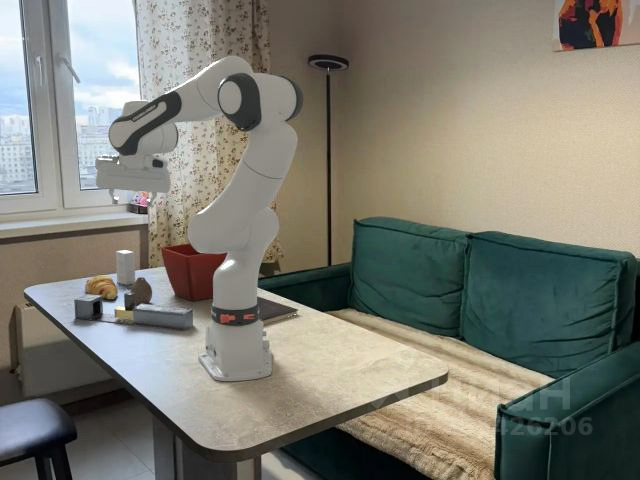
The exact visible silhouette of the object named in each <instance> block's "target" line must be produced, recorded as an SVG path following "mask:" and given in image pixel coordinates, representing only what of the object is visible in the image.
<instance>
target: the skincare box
mask: <svg viewBox="0 0 640 480" xmlns="http://www.w3.org/2000/svg"><path fill="white" fill-rule="evenodd" d="M115 259H116V260H115V261H116V263H115V264H116V282H117V283H118V284H122V285H124V286H128V285H133V284H134V283H135V282H136V265H135V264H136V263H135V259H136V258H135V252H134V251H131V250H126V249H123V250H117V251H115Z"/></svg>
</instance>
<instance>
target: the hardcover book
mask: <svg viewBox="0 0 640 480" xmlns="http://www.w3.org/2000/svg"><path fill="white" fill-rule="evenodd" d="M257 302H258V304H259V320H260V321H262V322H263V324H264V325H266V324H267V325H268V324H271V323H273V321H274V322H277V321H280V320H279V319H281V320H283V319H282V318H284V319H286V318H285V317H287V318H289V317H288V316H291V315H294V314H297V313H298V311H299V309H298V308H295V307H291V306H289V305H285V304H283V303H280V302H278V301H277V302H276V301H273V300H271V299H270V300H269V299H267V298H265V297H260V296H258V295H257ZM294 316H295V315H294ZM291 317H292V316H291ZM276 320H277V321H276ZM270 322H271V323H270Z"/></svg>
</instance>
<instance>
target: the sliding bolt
mask: <svg viewBox="0 0 640 480" xmlns="http://www.w3.org/2000/svg"><path fill="white" fill-rule="evenodd" d="M123 299H124V300H123V302H124V306H117V307H116V308H114V315H115V318H125V319H133V308H135V307H137V305H136V300H135V293H132V292H131V291H130V292H125V293H124V294H123Z"/></svg>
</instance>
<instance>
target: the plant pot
mask: <svg viewBox="0 0 640 480" xmlns="http://www.w3.org/2000/svg"><path fill="white" fill-rule="evenodd" d="M160 250H161V251H160V252H161V256H162V261H163V265H164V269H165V272H166V275H167V278H168V281H169V284H170V286H171V288H172V291H173V293H174V294H175V295H177V296H179V297H182V298H183V299H187V300H189V301H191V302H196V301H201V300H206V299H211V298H213V276H214V273H215V271H216V270H217V269H218V267H220V266H221V265H222V263H223V262H224V260H225V259H226V256H227V254H228V252H227V253H222V254H206V253H199V252H198V251H196V250H195V249H194V248H193V247H192V245H191V243H190V242H189V243H183V244H175V245H169V246H162V247H160Z"/></svg>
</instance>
